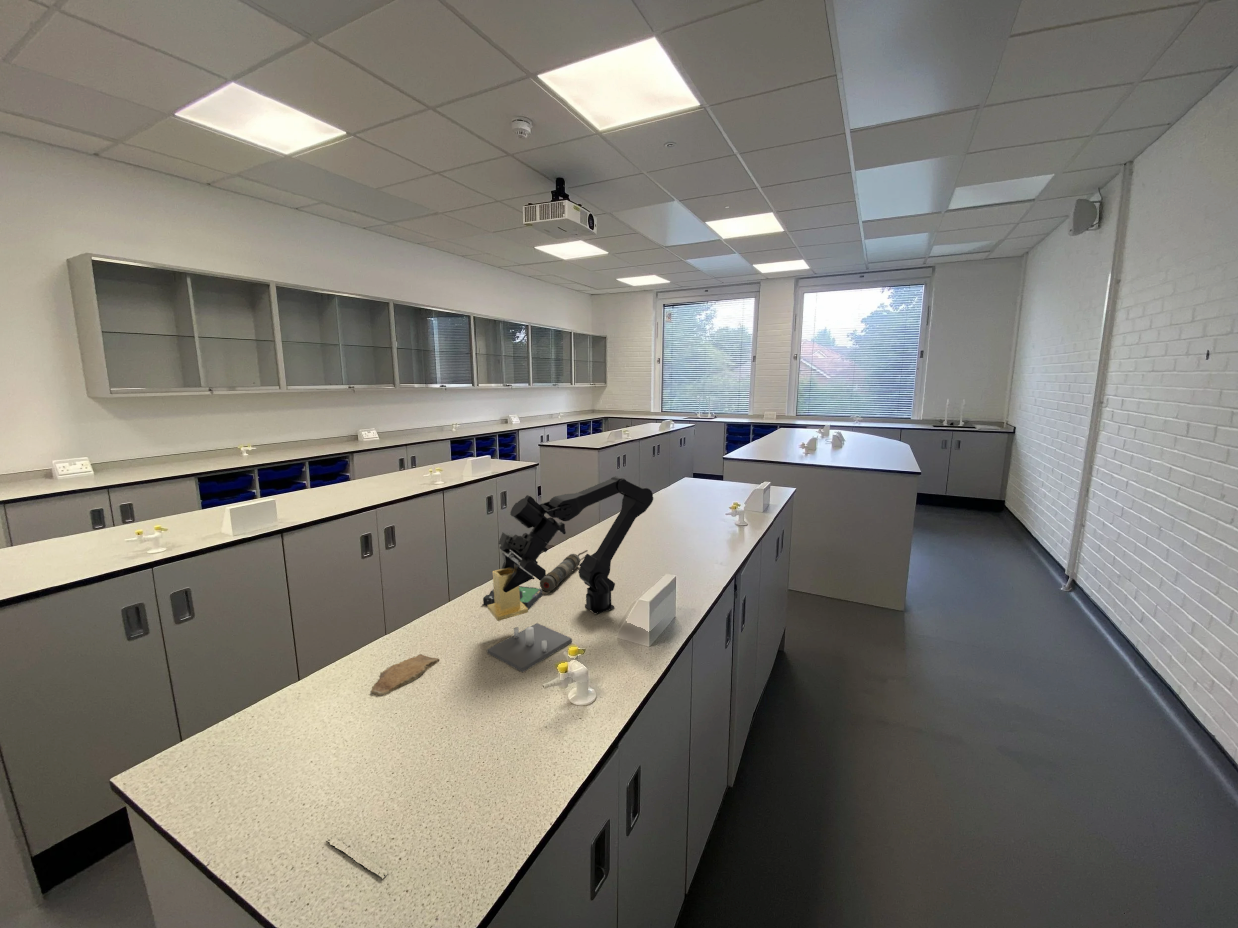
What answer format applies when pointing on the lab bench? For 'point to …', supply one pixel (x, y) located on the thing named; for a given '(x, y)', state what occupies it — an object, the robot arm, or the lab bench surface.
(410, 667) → the pottery shard
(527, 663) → the base plate
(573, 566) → the bomb
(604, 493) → the robot arm
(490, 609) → the brass sleeve
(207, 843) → the lab bench surface
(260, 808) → the lab bench surface
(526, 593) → the disk drive
